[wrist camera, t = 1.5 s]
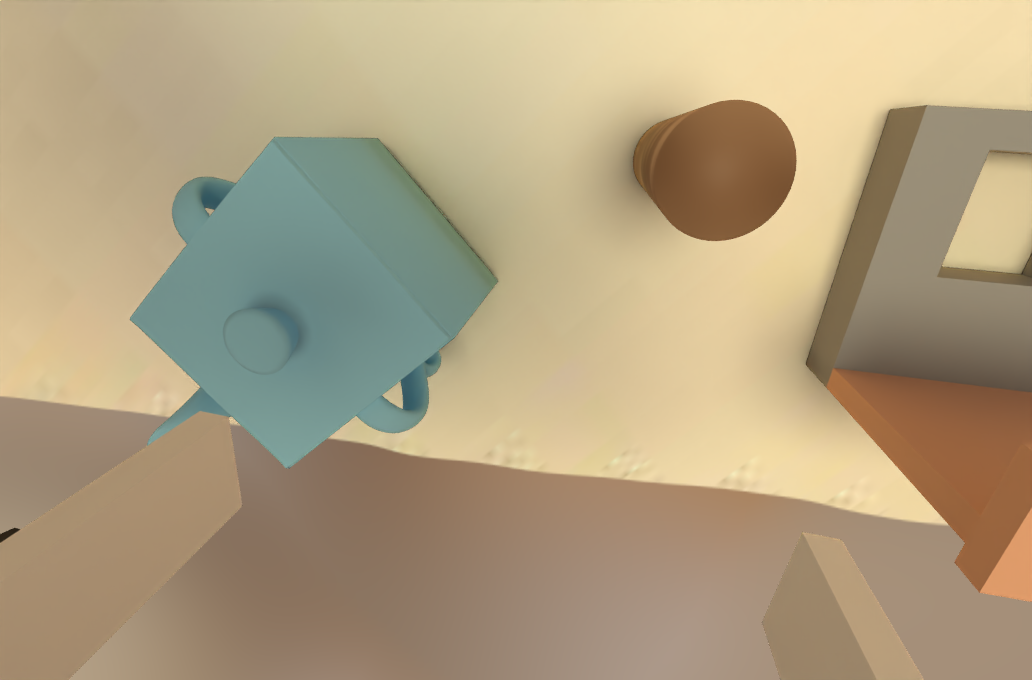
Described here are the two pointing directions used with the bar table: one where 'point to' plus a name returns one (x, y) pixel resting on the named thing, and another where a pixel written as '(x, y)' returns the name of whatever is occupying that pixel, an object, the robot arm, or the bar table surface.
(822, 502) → the bar table surface
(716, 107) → the walnut peg
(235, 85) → the bar table surface
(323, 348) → the teal cube teapot
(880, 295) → the socket stand
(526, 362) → the bar table surface
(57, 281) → the bar table surface
